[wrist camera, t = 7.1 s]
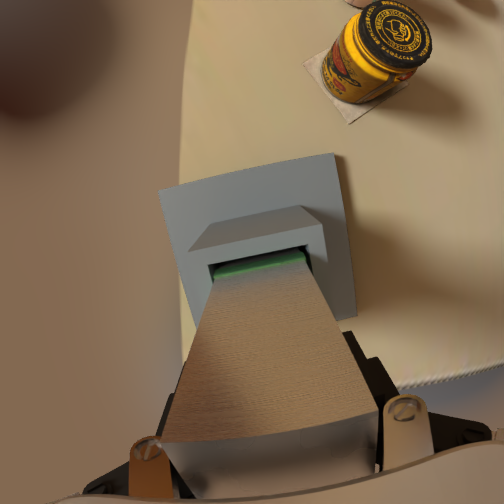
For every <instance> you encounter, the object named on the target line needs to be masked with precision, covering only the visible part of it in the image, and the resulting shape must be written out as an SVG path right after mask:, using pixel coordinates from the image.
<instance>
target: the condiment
mask: <svg viewBox="0 0 504 504" xmlns="http://www.w3.org/2000/svg"><path fill="white" fill-rule="evenodd" d="M431 52H432V39H431V35H430V32H429V29H428V27H427V26H426V24H425V22H424V21H423V20H422V19H421V17H420V16H419V15H418V14H417V13H416V12H414V11H413V10H412V9H411V8H410V7H407V6H406V5H404V4H402V3H400V2H397V1H391V0H378V1H375V2H372V3H371V4H369V5H367V6H366V7H365V8H364V9H363V11H362V12H361V13H359V14H357V15H355V16H353V17H352V18H351V19H350V20H349V22H348V23H347V24H346V25H345V27H344V29H343V30H342V31H341V33H340V35H339V36H338V38H337V39H336V41H335V42H334V44H333V46H331V47H330V48H328V49H326V50H324V51H322V52H321V53H319V54H317V55H316V56H314V57H312V58H311V59H309V60H307V61H305V62H304V63H302V65H303V66H304V67H305V68H306V69H307V71H308V72H309V73H310V75H311V76H312V77H313V78H314V80H315V81H316V82H317V83H318V85H319V86H320V87H321V88H322V90H323V91H324V92H325V93H326V95H327V96H328V97H329V99H330V100H331V101H332V103H333V104H334V105H335V106H336V108H337V109H338V110H339V111H340V113H341V114H342V115H343V117H344V118H345V120H346V121H347V122H348V124H349V123H351V122H352V121H354V120H355V119H357V118H358V117H360V116H361V115H363V114H364V113H366V112H367V111H369V110H370V109H372V108H373V107H375V106H376V105H378V104H379V103H381V102H382V101H384V100H386V99H387V98H389V97H390V96H392V95H393V94H395V93H397V92H398V91H400V90H401V89H403V88H404V87H406V86H407V85H409V83H408V82H407V79H408V78H410V77H411V76H412V75H413V74H414V73H415V72H416V70H417V68H418V67H419V66H421V65H422V64H423V63H425V62H426V61H427V59H428V58H430V54H431Z"/></svg>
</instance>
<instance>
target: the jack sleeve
mask: <svg viewBox="0 0 504 504" xmlns="http://www.w3.org/2000/svg"><path fill="white" fill-rule="evenodd" d="M158 194H159V198H160V202H161V206H162V211H163V214H164V218H165V222H166V226H167V230H168V234H169V237H170V241H171V245H172V249H173V252H174V255H175V259H176V263H177V266H178V270H179V273H180V277H181V280H182V284H183V287H184V290H185V294H186V297H187V300H188V303H189V307H190V310H191V313H192V316H193V319H194V323H195V326H196V329H197V328H198V325H199V322H200V320H201V317H202V314H203V311H204V308H205V305H206V302H207V300H208V297H209V294H210V291H211V288H212V285H213V283H214V277H213V275H214V273H215V270H216V269H219V266H220V263H221V262H224V261H228V260H233V259H238V258H243V257H248V256H253V255H257V254H262V253H267V252H272V251H277V250H281V249H286V248H291V247H296V246H297V247H298V249H299V251H300V252H303V253H304V255H305V257H306V262H307V266H308V268H309V269H310V271H311V273H312V275H313V277H314V279H315V281H316V283H317V285H318V287H319V289H320V291H321V293H322V294H323V296H324V298H325V300H326V302H327V304H328V306H329V308H330V310H331V312H332V314H333V316H334V318H335V320H336V321H338V320H342V319H346V318H350V317H354V316H357V307H356V297H355V287H354V278H353V270H352V261H351V254H350V246H349V239H348V232H347V225H346V219H345V213H344V206H343V200H342V195H341V189H340V183H339V178H338V173H337V167H336V162H335V157H334V153H328V154H322V155H316V156H310V157H305V158H299V159H294V160H288V161H283V162H278V163H273V164H268V165H263V166H258V167H254V168H249V169H244V170H240V171H235V172H231V173H227V174H222V175H218V176H214V177H210V178H205V179H201V180H197V181H193V182H189V183H185V184H182V185H178V186H174V187H170V188H167V189H163V190H159V191H158Z"/></svg>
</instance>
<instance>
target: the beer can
mask: <svg viewBox="0 0 504 504" xmlns="http://www.w3.org/2000/svg"><path fill="white" fill-rule="evenodd" d="M344 1H345V2H347V3H349V4H351V5H353V6H356V7H362V8H365V7H366V6H367V5H369V4H371V3H372V2H375V1H378V0H344Z"/></svg>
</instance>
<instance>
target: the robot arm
mask: <svg viewBox="0 0 504 504" xmlns="http://www.w3.org/2000/svg"><path fill="white" fill-rule="evenodd" d="M342 334H343V336H344V338H345V340H346V342H347V344H348V346H349V348H350V350H351V352H352V354H353V357H354V359H355V361H356V363H357V365H358V367H359V369H360V371H361V373H362V375H363V377H364V379H365V382H366V384H367V386H368V388H369V390H370V392H371V394H372V396H373V399H374V401H375V403H376V405H377V407H378V409H379V414H378V435H377V450H376V462H375V463H376V464H379V473H375V474H372V475H368V476H365V477H361V478H357V479H353V480H349V481H345V482H341V483H336V484H332V485H327V486H322V487H317V488H312V489H306V490H300V491H294V492H287V493H280V494H272V495H263V496H253V497H241V498H222V499H197V498H196V497H195V496H194V494H193V493H192V491H191V490H190V489H189V487H188V486H187V484H186V483H185V481H184V480H183V479H182V477H181V476H180V474H179V473H178V471H177V470H176V468H175V467H174V465H173V464H172V462H171V460H170V459H169V457H168V456H167V454H166V453H165V451H164V449H163V448H162V446H161V444H160V443H159V442H160V439H161V436H162V433H163V430H164V427H165V424H166V421H167V417H168V414H169V411H170V408H171V405H172V402H173V399H174V396H175V393H176V390H177V387H178V384H179V381H180V378H181V375H182V372H183V369H184V366H185V363H186V361H185V363H184V366H183V369H182V372H181V375H180V377H179V380H178V384H177V386H176V389H175V392H174V393H171V394H170V395H169V398H168V400H167V403H166V406H165V409H164V412H163V415H162V417H161V420H160V423H159V426H158V429H157V432H156V435H155V436H147V437H143V438H141V439H139V440H137V441H136V442H135V443H134V444H133V445H132V447H131V449H130V453H129V461H128V462H126V463H125V464H123V465H121V466H119V467H118V468H116V469H114V470H112V471H110V472H109V473H107V474H105V475H103V476H101V477H99V478H97V479H96V480H94V481H92V482H90V483H89V484H88V485H87V486H86V487H85V488H84V490H83V493H82V494H81V495H80V493H79V492H77V493H75V494H72V495H69V496H67V497H64V498H61V499H58V500H55V501H52V502H49V503H46V504H504V428H497V431H491V430H490V429H489V428H488V426H486V425H485V424H483V423H480V422H476V421H470V420H465V419H460V418H454V417H449V416H445V415H440V414H435V413H431V412H427V406H426V404H425V402H424V401H423V400H422V399H421V398H420V397H418V396H416V395H411V394H403V395H400V394H399V392H398V390H397V389H396V387H395V385H394V384H393V382H392V380H391V378H390V377H389V375H388V373H387V371H386V370H385V368H384V366H383V365H382V363H381V361H380V360H379V358H378V357H373V358H369V359H367V358H366V357H365V355H364V353H363V351H362V349H361V347H360V346H359V344H358V342H357V340H356V338H355V336H354V335H353V333H352V331H347V332H343V333H342Z"/></svg>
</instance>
